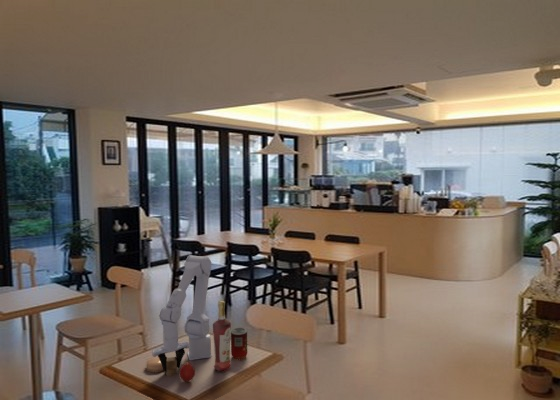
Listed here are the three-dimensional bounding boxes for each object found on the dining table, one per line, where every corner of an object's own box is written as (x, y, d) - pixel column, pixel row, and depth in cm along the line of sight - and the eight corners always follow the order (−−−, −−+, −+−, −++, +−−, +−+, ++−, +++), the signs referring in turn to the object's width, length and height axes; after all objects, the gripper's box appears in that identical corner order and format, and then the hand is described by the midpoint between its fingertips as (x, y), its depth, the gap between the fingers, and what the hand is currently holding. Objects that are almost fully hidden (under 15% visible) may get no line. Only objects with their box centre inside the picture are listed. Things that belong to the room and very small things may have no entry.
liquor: (223, 375, 162) (222, 306, 160) (209, 370, 165) (208, 303, 164) (235, 367, 168) (234, 300, 166) (221, 363, 172) (220, 298, 170)
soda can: (248, 360, 174) (248, 332, 174) (232, 361, 173) (231, 333, 172) (246, 353, 181) (245, 326, 181) (230, 354, 180) (229, 327, 179)
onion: (181, 378, 159) (180, 358, 159) (195, 377, 160) (195, 358, 159) (178, 386, 153) (178, 365, 153) (194, 385, 154) (193, 364, 153)
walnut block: (176, 369, 166) (175, 356, 166) (177, 374, 163) (176, 360, 162) (166, 371, 165) (165, 358, 165) (166, 375, 161) (166, 362, 161)
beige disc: (168, 360, 175) (168, 354, 174) (169, 370, 166) (169, 364, 166) (146, 363, 172) (146, 358, 171) (146, 373, 163) (146, 367, 163)
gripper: (184, 329, 170) (185, 360, 171) (149, 337, 162) (150, 370, 163) (190, 334, 164) (191, 367, 165) (154, 343, 156) (155, 377, 157)
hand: (171, 369), depth 164 cm, fingers closed on walnut block, 5 cm apart
